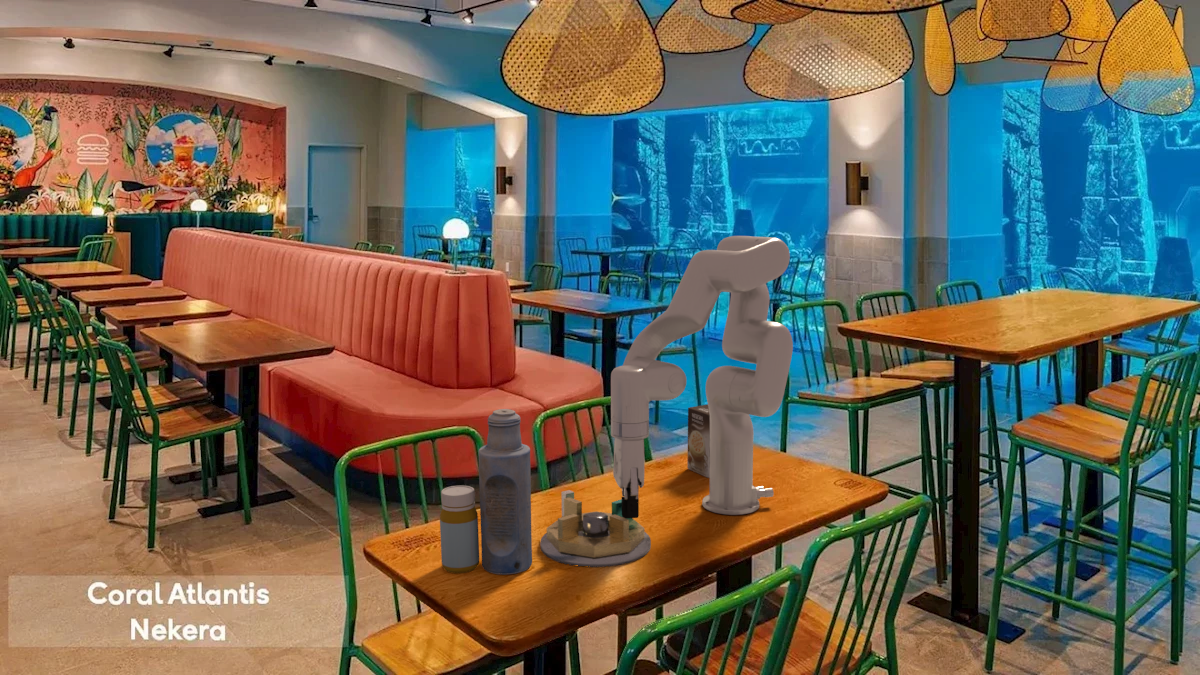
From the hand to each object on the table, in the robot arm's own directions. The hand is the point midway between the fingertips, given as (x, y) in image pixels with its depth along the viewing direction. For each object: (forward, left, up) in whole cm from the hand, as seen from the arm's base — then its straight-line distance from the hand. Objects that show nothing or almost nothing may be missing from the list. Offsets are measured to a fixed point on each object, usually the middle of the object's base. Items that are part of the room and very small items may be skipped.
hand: (630, 516), depth 190 cm
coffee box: (-30, -41, -5) cm, 51 cm away
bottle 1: (+34, +6, -5) cm, 35 cm away
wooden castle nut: (+7, +1, -4) cm, 8 cm away
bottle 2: (+26, +7, -5) cm, 27 cm away
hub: (+7, +1, -5) cm, 9 cm away
